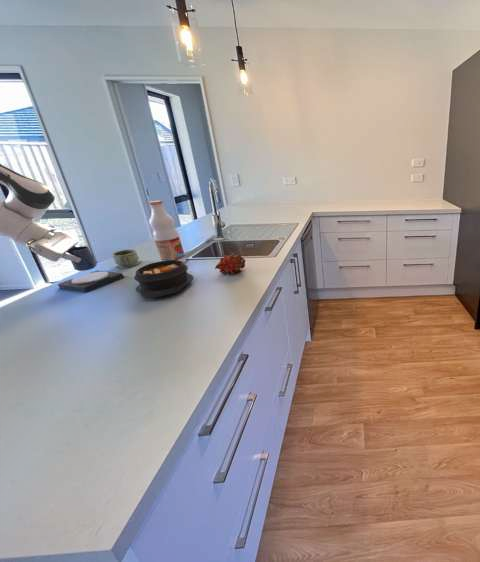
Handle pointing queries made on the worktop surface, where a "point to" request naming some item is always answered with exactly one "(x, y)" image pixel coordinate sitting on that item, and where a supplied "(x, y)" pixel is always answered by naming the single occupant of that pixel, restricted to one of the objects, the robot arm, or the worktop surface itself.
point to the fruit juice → (165, 233)
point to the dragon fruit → (231, 264)
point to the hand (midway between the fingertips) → (83, 257)
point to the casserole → (162, 278)
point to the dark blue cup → (83, 258)
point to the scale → (90, 281)
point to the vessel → (126, 258)
